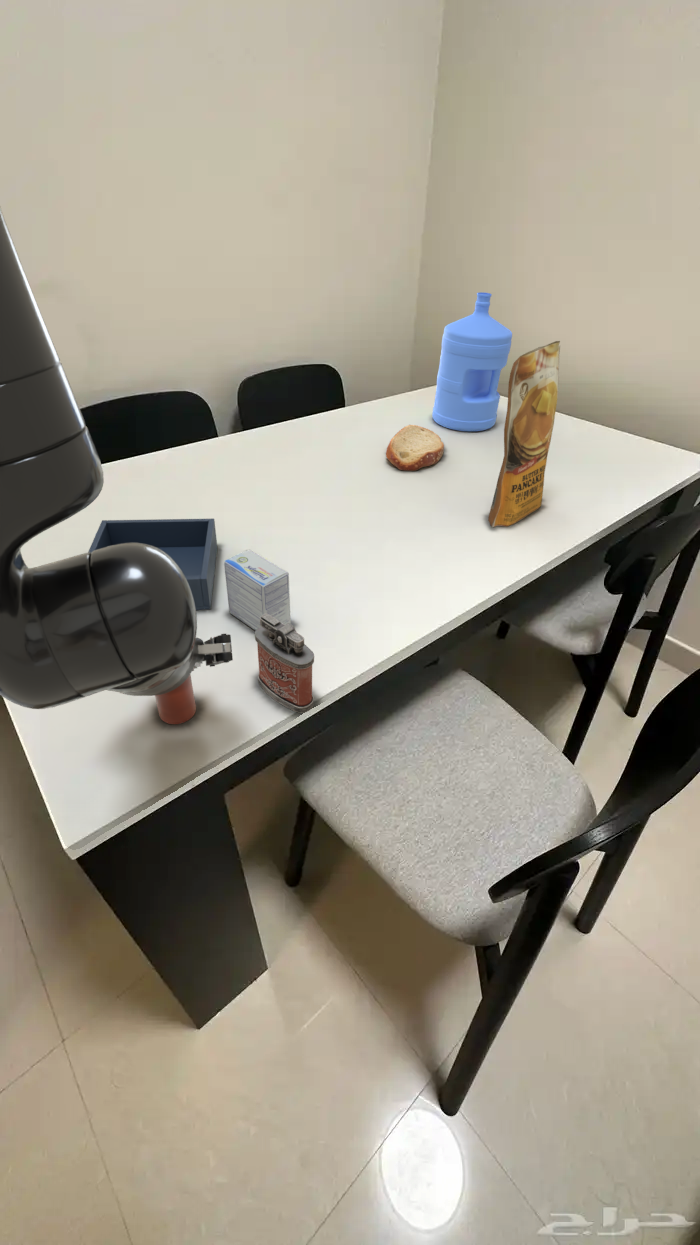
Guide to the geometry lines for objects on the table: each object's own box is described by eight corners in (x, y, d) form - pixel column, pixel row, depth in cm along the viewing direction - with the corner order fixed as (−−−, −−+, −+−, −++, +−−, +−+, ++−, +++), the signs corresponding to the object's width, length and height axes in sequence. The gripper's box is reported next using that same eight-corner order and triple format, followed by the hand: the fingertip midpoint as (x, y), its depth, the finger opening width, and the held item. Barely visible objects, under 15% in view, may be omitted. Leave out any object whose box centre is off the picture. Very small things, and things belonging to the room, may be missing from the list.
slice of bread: (419, 431, 137) (421, 415, 135) (469, 459, 125) (472, 442, 123) (355, 443, 129) (356, 427, 127) (402, 474, 118) (404, 456, 115)
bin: (83, 613, 78) (74, 582, 74) (109, 549, 90) (101, 520, 87) (210, 609, 80) (206, 578, 76) (217, 546, 93) (214, 518, 89)
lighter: (320, 702, 67) (321, 635, 61) (299, 718, 65) (298, 650, 59) (272, 668, 71) (269, 603, 65) (251, 682, 69) (246, 616, 63)
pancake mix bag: (466, 521, 103) (498, 352, 86) (521, 490, 114) (559, 335, 97) (499, 535, 100) (539, 362, 82) (552, 502, 111) (597, 343, 93)
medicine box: (291, 625, 78) (290, 571, 72) (266, 640, 75) (263, 585, 70) (253, 600, 82) (250, 547, 76) (228, 613, 79) (222, 559, 74)
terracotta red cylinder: (156, 725, 63) (142, 664, 57) (161, 698, 66) (148, 638, 61) (194, 723, 64) (184, 662, 58) (197, 697, 67) (188, 636, 61)
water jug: (419, 420, 143) (434, 291, 126) (453, 406, 153) (471, 285, 135) (474, 438, 136) (498, 303, 118) (506, 422, 145) (533, 295, 128)
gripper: (231, 594, 48) (234, 620, 65) (45, 609, 45) (98, 632, 62) (239, 685, 47) (240, 687, 64) (50, 706, 44) (103, 702, 61)
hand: (170, 660), depth 63 cm, fingers closed on terracotta red cylinder, 4 cm apart
